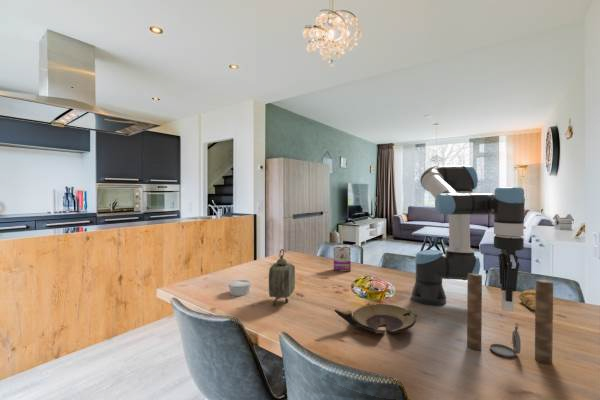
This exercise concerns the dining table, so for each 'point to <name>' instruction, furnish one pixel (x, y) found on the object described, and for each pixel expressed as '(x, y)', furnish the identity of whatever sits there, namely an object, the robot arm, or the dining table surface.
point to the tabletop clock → (281, 279)
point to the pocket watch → (507, 350)
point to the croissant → (528, 298)
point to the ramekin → (239, 287)
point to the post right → (544, 321)
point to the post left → (474, 311)
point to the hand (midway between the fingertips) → (507, 310)
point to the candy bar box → (342, 258)
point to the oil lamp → (380, 318)
